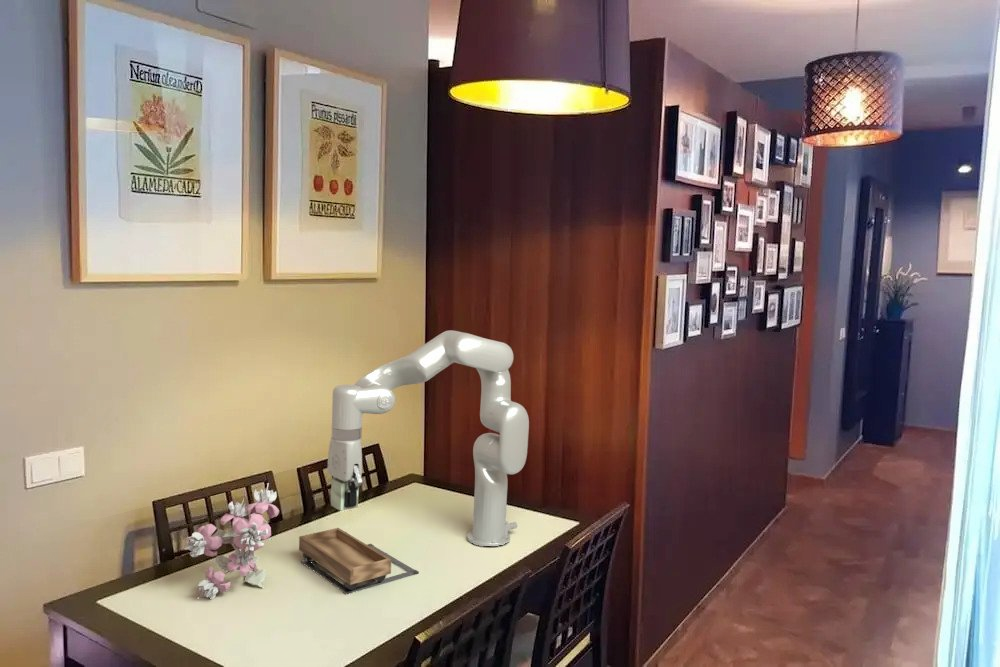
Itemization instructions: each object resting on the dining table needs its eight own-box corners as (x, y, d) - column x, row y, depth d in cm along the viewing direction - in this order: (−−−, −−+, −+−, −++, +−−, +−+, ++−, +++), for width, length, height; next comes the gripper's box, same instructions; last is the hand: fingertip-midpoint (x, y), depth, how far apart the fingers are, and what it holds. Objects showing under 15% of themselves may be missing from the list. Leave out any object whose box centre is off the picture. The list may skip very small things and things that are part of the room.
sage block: (347, 502, 202) (348, 475, 201) (357, 507, 198) (358, 480, 197) (330, 505, 198) (331, 478, 198) (340, 510, 195) (341, 483, 194)
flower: (189, 562, 198) (177, 491, 185) (279, 545, 206) (275, 476, 193) (191, 627, 183) (179, 554, 169) (289, 606, 190) (285, 535, 177)
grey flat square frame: (370, 545, 219) (370, 543, 219) (418, 573, 202) (418, 571, 202) (300, 562, 205) (300, 560, 205) (345, 594, 187) (346, 592, 187)
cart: (337, 548, 214) (338, 527, 213) (390, 582, 194) (391, 559, 193) (298, 558, 206) (299, 536, 206) (350, 594, 186) (350, 570, 186)
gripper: (317, 428, 200) (315, 497, 202) (350, 442, 187) (348, 515, 189) (342, 425, 205) (340, 492, 207) (377, 439, 192) (374, 510, 194)
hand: (344, 502), depth 198 cm, fingers closed on sage block, 5 cm apart
